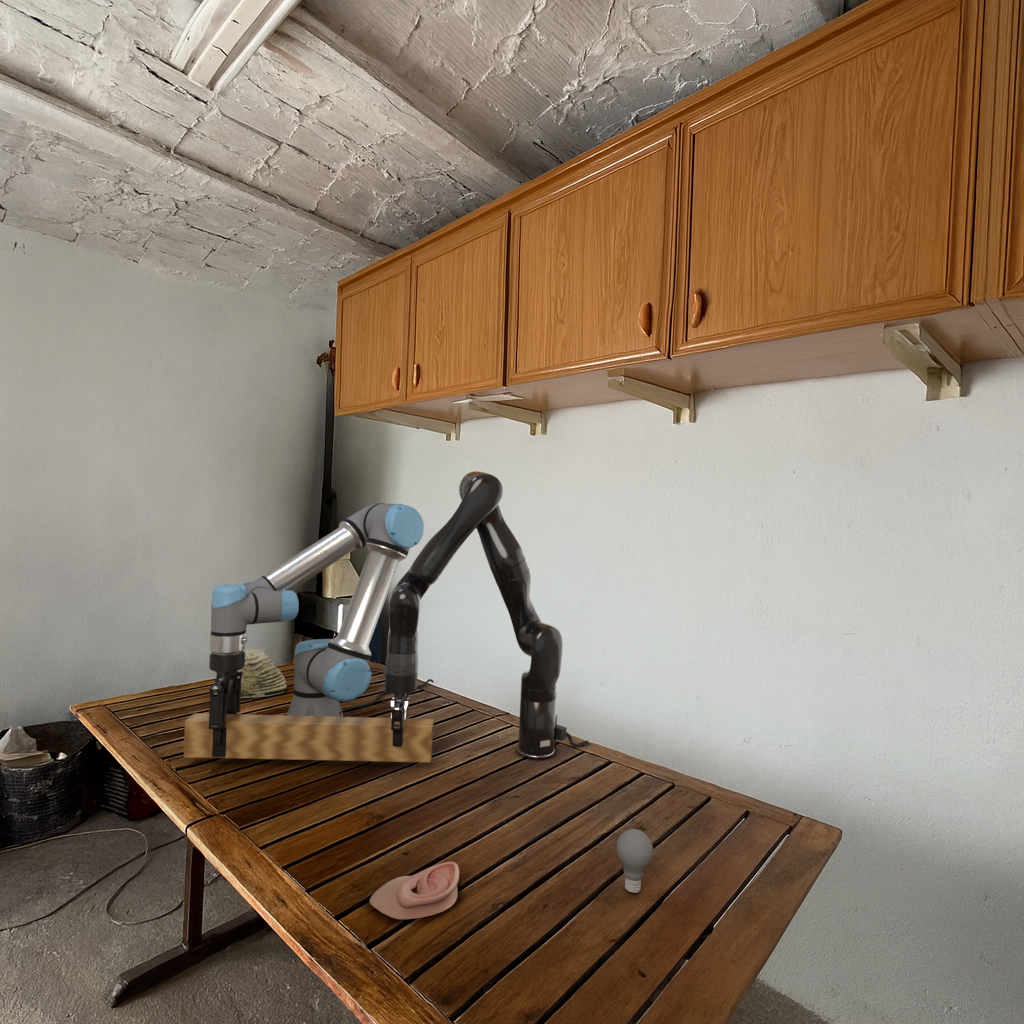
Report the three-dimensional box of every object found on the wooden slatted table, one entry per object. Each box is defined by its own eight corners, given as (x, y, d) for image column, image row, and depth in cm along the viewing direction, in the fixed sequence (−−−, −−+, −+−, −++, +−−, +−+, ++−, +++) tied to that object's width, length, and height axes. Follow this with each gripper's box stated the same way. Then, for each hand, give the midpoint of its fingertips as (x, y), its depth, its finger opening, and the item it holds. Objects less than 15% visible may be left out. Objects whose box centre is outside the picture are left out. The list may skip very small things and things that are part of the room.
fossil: (218, 695, 195) (220, 647, 195) (278, 685, 208) (279, 640, 207) (228, 703, 189) (230, 653, 188) (289, 692, 201) (290, 645, 201)
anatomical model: (361, 887, 97) (391, 847, 108) (360, 913, 97) (390, 870, 108) (444, 902, 94) (465, 860, 105) (443, 928, 94) (464, 883, 106)
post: (183, 757, 144) (184, 720, 144) (193, 748, 149) (194, 713, 149) (430, 762, 148) (432, 726, 147) (432, 753, 153) (433, 719, 152)
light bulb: (610, 879, 108) (613, 822, 108) (644, 879, 109) (647, 822, 109) (619, 902, 102) (622, 840, 102) (655, 901, 103) (658, 840, 103)
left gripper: (229, 662, 138) (224, 767, 138) (257, 643, 156) (253, 737, 157) (193, 661, 138) (189, 767, 138) (226, 642, 156) (222, 736, 156)
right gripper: (414, 678, 142) (411, 753, 143) (420, 662, 157) (417, 730, 157) (381, 677, 142) (378, 753, 142) (389, 661, 156) (387, 729, 157)
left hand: (223, 751), depth 147 cm, fingers closed on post, 5 cm apart
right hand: (398, 740), depth 150 cm, fingers closed on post, 5 cm apart
